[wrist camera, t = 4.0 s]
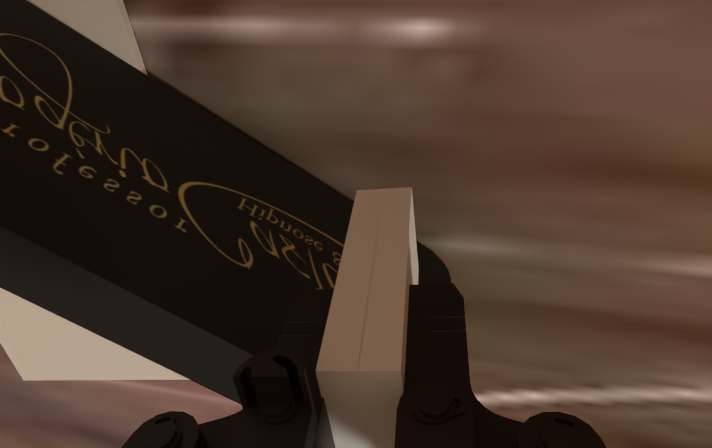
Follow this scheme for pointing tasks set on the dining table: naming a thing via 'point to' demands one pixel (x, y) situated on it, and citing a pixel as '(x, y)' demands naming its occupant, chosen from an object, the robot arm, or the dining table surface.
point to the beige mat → (38, 326)
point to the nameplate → (152, 209)
